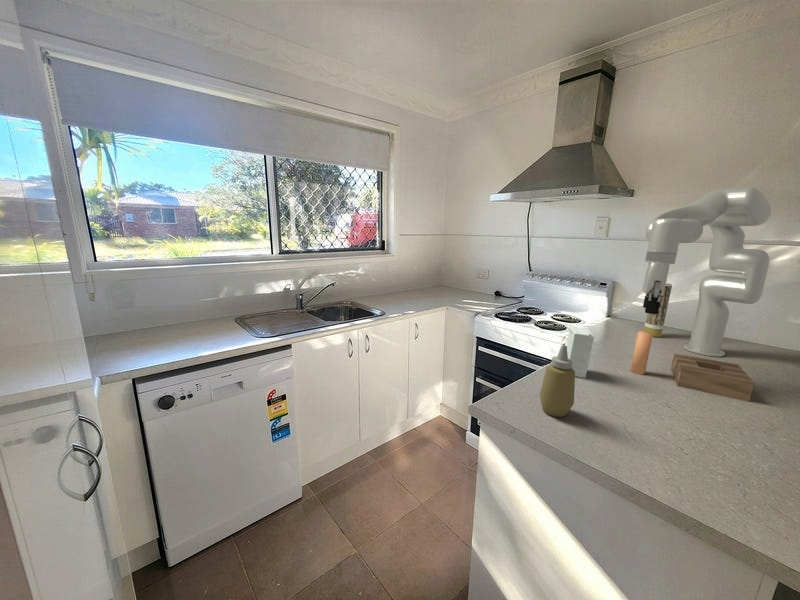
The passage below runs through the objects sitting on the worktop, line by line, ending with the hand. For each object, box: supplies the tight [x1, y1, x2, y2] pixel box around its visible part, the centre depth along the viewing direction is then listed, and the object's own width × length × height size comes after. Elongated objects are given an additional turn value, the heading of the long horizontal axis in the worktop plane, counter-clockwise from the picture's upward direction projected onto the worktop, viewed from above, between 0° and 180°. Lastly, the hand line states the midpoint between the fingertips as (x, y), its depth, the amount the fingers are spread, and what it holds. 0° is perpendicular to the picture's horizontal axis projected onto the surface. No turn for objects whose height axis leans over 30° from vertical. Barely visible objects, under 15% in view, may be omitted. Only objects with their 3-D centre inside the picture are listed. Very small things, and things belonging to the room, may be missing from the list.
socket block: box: [670, 352, 755, 402], centre depth 104 cm, size 16×16×6 cm
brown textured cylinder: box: [643, 282, 673, 338], centre depth 152 cm, size 7×7×25 cm
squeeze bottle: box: [539, 344, 576, 418], centre depth 83 cm, size 8×8×18 cm
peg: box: [630, 330, 654, 376], centre depth 110 cm, size 4×4×14 cm
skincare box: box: [566, 325, 595, 379], centre depth 108 cm, size 8×6×15 cm
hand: (649, 310), depth 107 cm, fingers open, 9 cm apart
